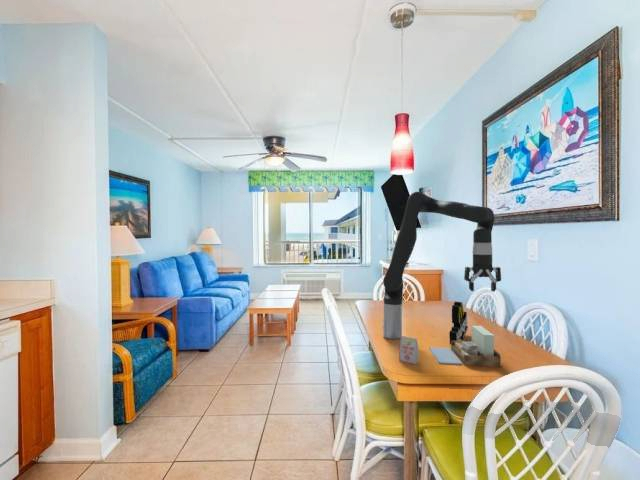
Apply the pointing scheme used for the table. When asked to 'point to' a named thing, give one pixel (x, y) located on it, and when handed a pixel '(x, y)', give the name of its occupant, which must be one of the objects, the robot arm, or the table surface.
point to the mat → (445, 356)
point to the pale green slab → (483, 340)
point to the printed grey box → (408, 350)
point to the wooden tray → (477, 357)
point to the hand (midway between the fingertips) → (482, 291)
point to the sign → (458, 322)
